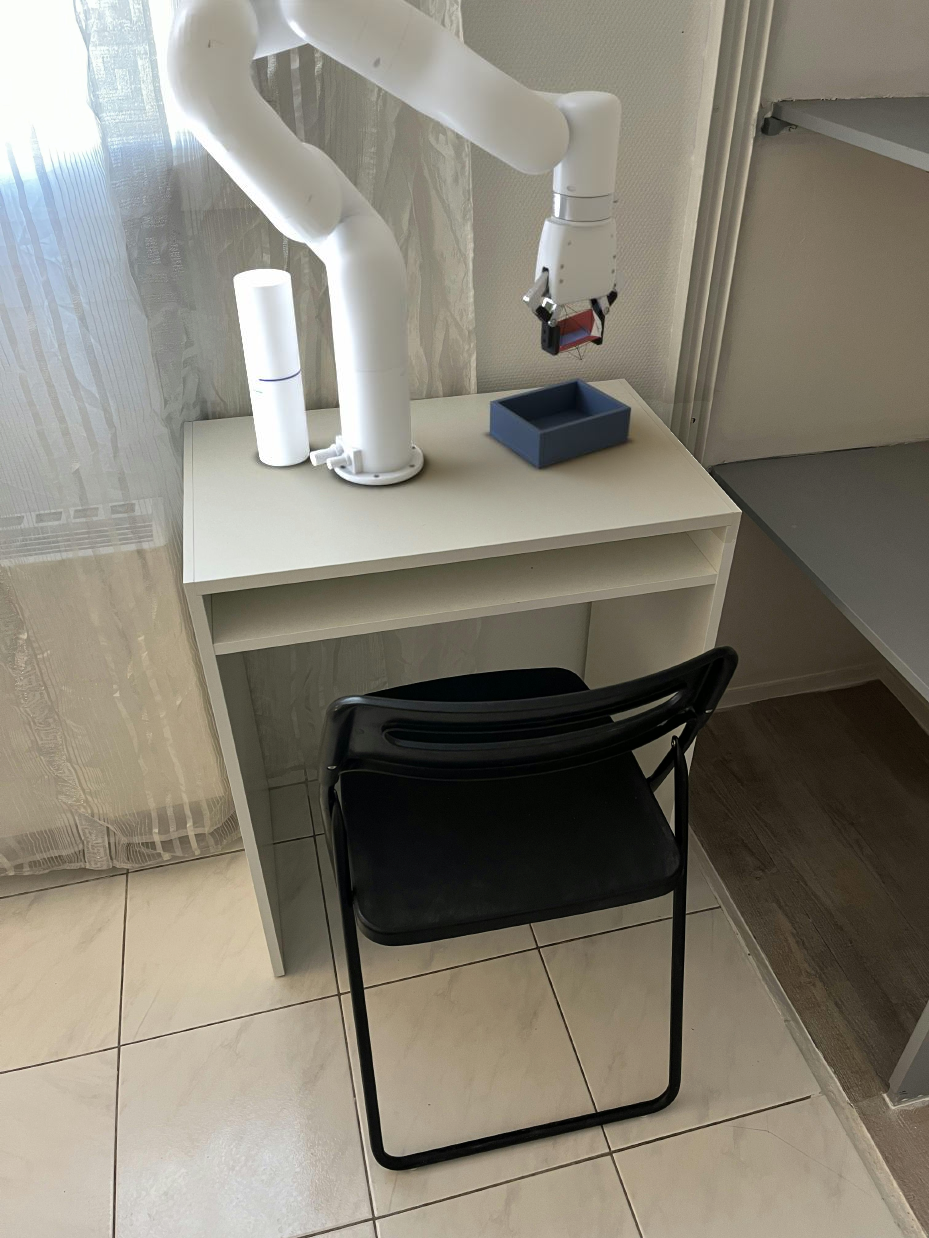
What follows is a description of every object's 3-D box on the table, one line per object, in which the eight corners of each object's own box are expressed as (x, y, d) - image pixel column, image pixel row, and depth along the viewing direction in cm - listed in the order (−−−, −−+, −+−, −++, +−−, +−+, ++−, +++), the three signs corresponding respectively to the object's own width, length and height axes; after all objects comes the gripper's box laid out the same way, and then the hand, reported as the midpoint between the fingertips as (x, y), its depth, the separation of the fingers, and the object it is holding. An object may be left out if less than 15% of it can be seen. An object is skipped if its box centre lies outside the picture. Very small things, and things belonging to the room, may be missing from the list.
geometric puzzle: (534, 349, 123) (575, 300, 119) (530, 330, 128) (568, 283, 125) (575, 380, 126) (616, 333, 122) (569, 360, 131) (608, 315, 127)
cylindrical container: (300, 468, 131) (278, 288, 116) (252, 463, 132) (224, 284, 117) (316, 445, 137) (298, 271, 122) (270, 441, 138) (246, 267, 123)
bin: (538, 468, 131) (539, 433, 128) (489, 434, 139) (489, 401, 136) (627, 441, 138) (631, 407, 134) (575, 410, 146) (578, 378, 143)
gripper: (618, 192, 122) (605, 327, 133) (506, 209, 115) (502, 350, 125) (656, 204, 117) (639, 344, 127) (541, 222, 109) (534, 369, 120)
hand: (571, 346), depth 126 cm, fingers closed on geometric puzzle, 6 cm apart
